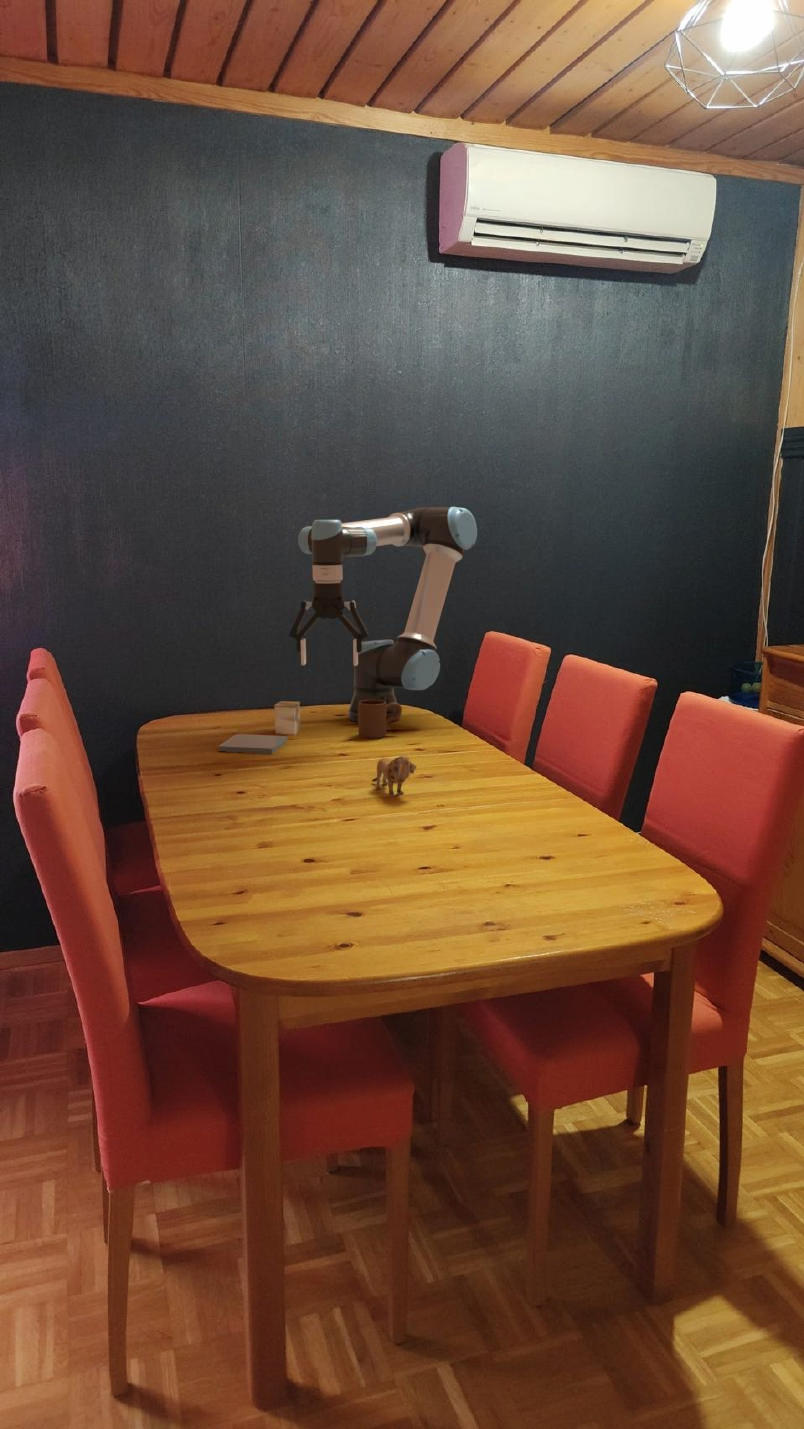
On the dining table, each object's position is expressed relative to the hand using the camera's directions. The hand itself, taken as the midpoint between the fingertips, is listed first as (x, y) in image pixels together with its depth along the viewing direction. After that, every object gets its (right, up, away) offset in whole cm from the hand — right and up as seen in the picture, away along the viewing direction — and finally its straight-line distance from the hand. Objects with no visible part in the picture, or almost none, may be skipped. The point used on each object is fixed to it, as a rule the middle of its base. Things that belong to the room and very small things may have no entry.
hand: (329, 664), depth 248 cm
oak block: (-13, -18, +18) cm, 28 cm away
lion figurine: (+17, -30, -39) cm, 52 cm away
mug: (+13, -19, +14) cm, 27 cm away
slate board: (-20, -21, +1) cm, 29 cm away
